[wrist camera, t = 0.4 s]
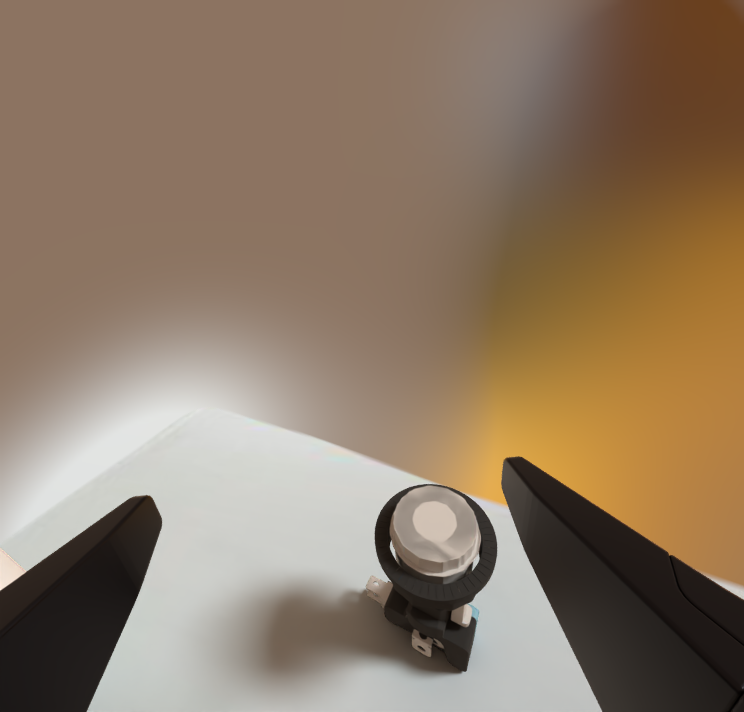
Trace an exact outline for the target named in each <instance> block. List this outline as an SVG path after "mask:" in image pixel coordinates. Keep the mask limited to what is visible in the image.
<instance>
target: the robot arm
mask: <svg viewBox="0 0 744 712" xmlns="http://www.w3.org/2000/svg"><path fill="white" fill-rule="evenodd" d="M501 484H502V490H503V493H504V496H505V499H506V501H507V504H508V507H509V510H510V512H511V515H512V518H513V521H514V523H515V526H516V529H517V532H518V534H519V537H520V540H521V542H522V545H523V548H524V550H525V552H526V555H527V557H528V559H529V561H530V563H531V565H532V567H533V569H534V571H535V574H536V576H537V578H538V580H539V582H540V584H541V586H542V588H543V590H544V592H545V594H546V596H547V598H548V600H549V602H550V604H551V607H552V609H553V611H554V613H555V615H556V617H557V619H558V621H559V623H560V625H561V627H562V629H563V631H564V633H565V635H566V637H567V640H568V642H569V644H570V646H571V648H572V650H573V652H574V654H575V656H576V658H577V660H578V662H579V664H580V666H581V668H582V670H583V673H584V675H585V677H586V679H587V681H588V683H589V685H590V687H591V689H592V691H593V693H594V695H595V697H596V699H597V701H598V703H599V706H600V708H601V710H602V712H744V600H743V599H741V598H740V597H738V596H736V595H735V594H733V593H731V592H730V591H728V590H726V589H725V588H723V587H722V586H720V585H718V584H717V583H715V582H714V581H712V580H711V579H709V578H707V577H706V576H704V575H703V574H701V573H699V572H698V571H696V570H695V569H693V568H692V567H690V566H688V565H687V564H685V563H684V562H682V561H681V560H679V559H678V558H676V557H675V556H673V555H670V556H669V554H668V552H667V551H665V550H664V549H662V548H661V547H659V546H658V545H656V544H654V543H653V542H651V541H650V540H648V539H647V538H645V537H644V536H642V535H641V534H639V533H638V532H636V531H634V530H633V529H631V528H630V527H628V526H627V525H625V524H624V523H622V522H621V521H619V520H618V519H616V518H615V517H613V516H611V515H610V514H609V513H607V512H605V511H604V510H602V509H601V508H599V507H598V506H596V505H595V504H593V503H591V502H590V501H589V500H587V499H586V498H584V497H582V496H581V495H579V494H578V493H576V492H575V491H573V490H572V489H570V488H569V487H567V486H566V485H564V484H563V483H561V482H559V481H558V480H556V479H555V478H553V477H552V476H550V475H549V474H547V473H546V472H544V471H542V470H541V469H539V468H538V467H536V466H535V465H533V464H532V463H530V462H529V461H527V460H526V459H524V458H522V457H509V458H506V459H505V460H504V462H503V471H502V482H501ZM161 527H162V518H161V515H160V513H159V511H158V509H157V507H156V504H155V502H154V500H153V498H152V497H151V496H148V495H144V496H135V497H132V498H130V499H128V500H127V501H125V502H124V503H122V504H121V505H120V506H118V507H117V508H115V509H114V510H113V511H111V512H110V513H108V514H107V515H106V516H104V517H103V518H101V519H100V520H99V521H97V522H96V523H94V524H93V525H92V526H90V527H89V528H87V529H86V530H85V531H83V532H82V533H80V534H79V535H78V536H76V537H75V538H73V539H72V540H71V541H69V542H68V543H66V544H65V545H64V546H62V547H61V548H59V549H58V550H57V551H55V552H54V553H52V554H51V555H49V556H48V557H47V558H45V559H44V560H42V561H41V562H40V563H38V564H37V565H35V566H34V567H33V568H31V569H30V570H28V571H27V572H26V573H24V574H23V575H21V576H20V577H19V578H17V579H16V580H14V581H13V582H12V583H10V584H9V585H7V586H6V587H5V588H3V589H2V590H0V712H87V710H88V707H89V705H90V703H91V701H92V698H93V696H94V694H95V692H96V689H97V687H98V685H99V683H100V680H101V678H102V676H103V674H104V671H105V669H106V667H107V665H108V662H109V660H110V658H111V656H112V653H113V651H114V649H115V647H116V644H117V642H118V640H119V638H120V635H121V633H122V631H123V629H124V626H125V624H126V622H127V619H128V617H129V615H130V613H131V610H132V608H133V606H134V604H135V601H136V599H137V596H138V594H139V592H140V589H141V586H142V584H143V581H144V578H145V575H146V572H147V569H148V566H149V563H150V560H151V557H152V554H153V551H154V548H155V545H156V543H157V540H158V537H159V534H160V531H161Z"/></svg>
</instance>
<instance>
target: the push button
mask: <svg viewBox="0 0 744 712" xmlns="http://www.w3.org/2000/svg"><path fill="white" fill-rule="evenodd" d="M391 540H392V544H393V547H394V549H395V553H396V560H397V561H396V560H395V558H394V556H393V555H392V552H391V550H390V542H391ZM375 546H376V552H377V556H378V559H379V562H380V564H381V567H382V569H383V570H384V572H385V574H386V575H387V577H388V578H389V579H390V580H391V582H392V583H391V582H389V581H388V583H386V582H384V581H382V580H380V579H378V578H376V577H374V576H371V577H370V579H369V581H368V583H367V585H366V589H368V590H369V591H368V593H367V595H368V597H370V598H372V599H373V600H375V601H377V602H379V603H381V604H382V606H381V607H382V608H384V611H385V617H386V618H387V619H388V620H389V621H390V622H392V623H394V624H396V625H399V626H400V627H402V628H404V629H406V630H407V631H409V632H411V633H412V646H413V648H414V649H416V650H417V651H419V652H421V653H422V654H424V655H426V656H428V657H431V652H432V648H431V647H432V645H433V646H435V647H437V648H439V649H440V650H442V651H444V652H445V653H446V656H447V660H448V662H449V663H450V664H451V665H452V666H454V667H456V668H458V669H459V670H461V671H464V672H466V671H467V666H468V662H469V658H470V653H471V649H472V645H473V640H474V636H475V632H476V627H477V621H478V615H479V610H478V609H477V608H475V607H474V606H472V605H470V604H468V603H470V602H471V601H472V600H473V599H474V597H475V595H476V594H477V593H478V592H479V591H481V590H482V589H483V587H484V586H485V585H486V584H487V582H488V581H489V579H490V577H491V575H492V573H493V570H494V567H495V563H496V558H497V540H496V535H495V532H494V529H493V526H492V524H491V522H490V520H489V518H488V517H487V515H486V514H485V512H484V511H483V510H482V509H481V507H480V506H479V505H478V504H477V503H476V502H475V501H473V500H472V499H471V498H469V497H468V496H466V495H465V494H463V493H461V492H460V491H457V490H455V489H453V488H450V487H446V486H442V485H435V484H424V485H417V486H413V487H409V488H407V489H404V490H403V491H401V492H399V493H397V494H396V495H395V496H393V497H392V498H391V499H390V500H389V501H388V502H387V503H386V504H385V506H384V507H383V509H382V510H381V512H380V514H379V516H378V519H377V522H376V527H375ZM478 552H479V557H480V560H479V562H478V564H477V566H476V567H475V568H474V570H473V571H472V566H473V560H474V559H475V558H476V556H477V554H478ZM374 582H377V583H378V584H379V586H378V585H376V584H374ZM373 593H375V594H377V595H379V596H374V594H373ZM419 646H421V647H422V648H424V649H425V650H423V649H421V648H420V647H419Z"/></svg>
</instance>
